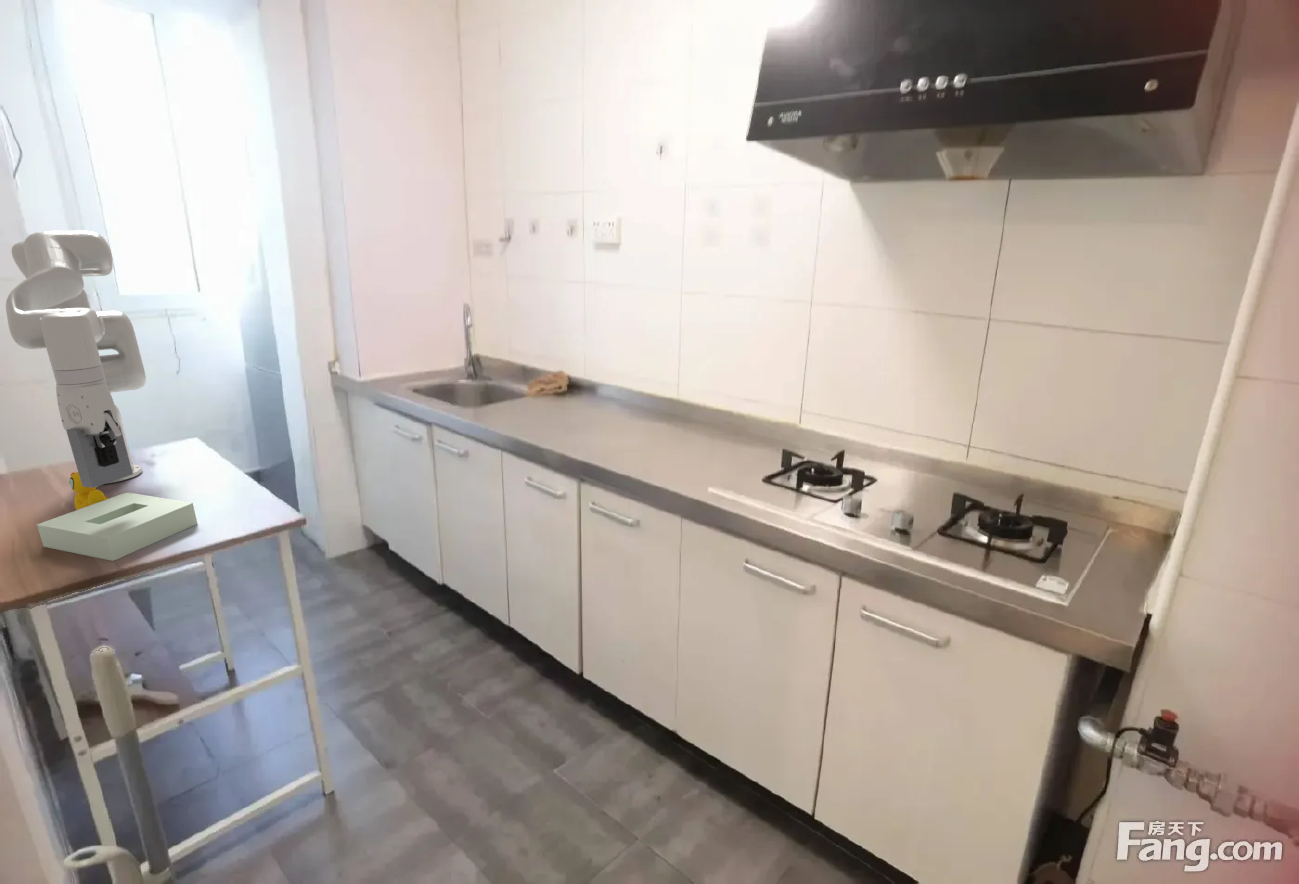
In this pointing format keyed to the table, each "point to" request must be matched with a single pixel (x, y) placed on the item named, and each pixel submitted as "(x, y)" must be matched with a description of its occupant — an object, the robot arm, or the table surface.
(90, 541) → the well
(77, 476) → the duckling
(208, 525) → the table surface
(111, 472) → the brushed metal pillar
